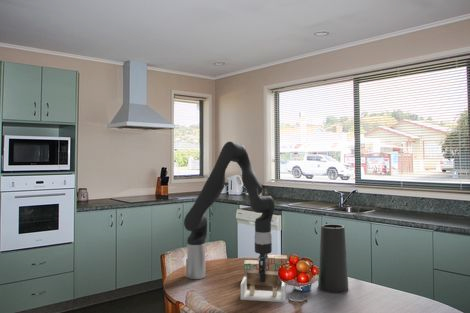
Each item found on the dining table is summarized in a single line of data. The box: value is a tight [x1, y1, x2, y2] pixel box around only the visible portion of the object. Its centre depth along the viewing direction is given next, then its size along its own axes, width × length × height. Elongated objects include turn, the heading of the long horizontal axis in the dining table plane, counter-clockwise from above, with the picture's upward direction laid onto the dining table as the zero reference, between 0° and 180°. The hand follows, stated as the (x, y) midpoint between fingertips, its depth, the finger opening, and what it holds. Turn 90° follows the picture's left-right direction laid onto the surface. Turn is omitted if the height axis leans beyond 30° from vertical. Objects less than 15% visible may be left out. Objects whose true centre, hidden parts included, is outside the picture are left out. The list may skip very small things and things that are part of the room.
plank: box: [247, 269, 281, 288], centre depth 166 cm, size 14×4×5 cm, turn 72°
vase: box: [317, 223, 349, 294], centre depth 177 cm, size 14×14×29 cm
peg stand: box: [239, 276, 287, 303], centre depth 166 cm, size 19×10×7 cm, turn 80°
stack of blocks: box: [243, 254, 288, 284], centre depth 188 cm, size 21×6×12 cm, turn 85°
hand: (263, 279), depth 166 cm, fingers closed on plank, 4 cm apart
